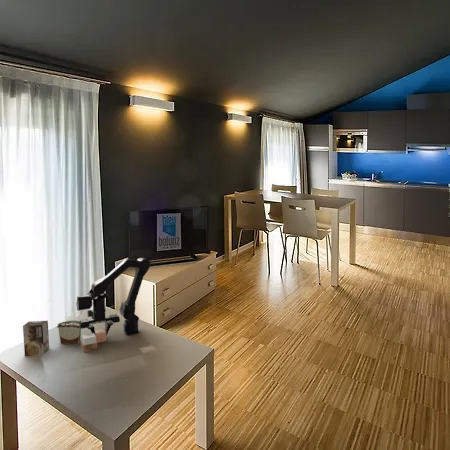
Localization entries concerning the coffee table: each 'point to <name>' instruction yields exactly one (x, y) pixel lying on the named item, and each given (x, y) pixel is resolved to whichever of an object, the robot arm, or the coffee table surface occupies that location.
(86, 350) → the walnut block
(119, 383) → the coffee table surface
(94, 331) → the robot arm
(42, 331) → the coffee box
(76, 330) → the food container
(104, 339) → the clay block
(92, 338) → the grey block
